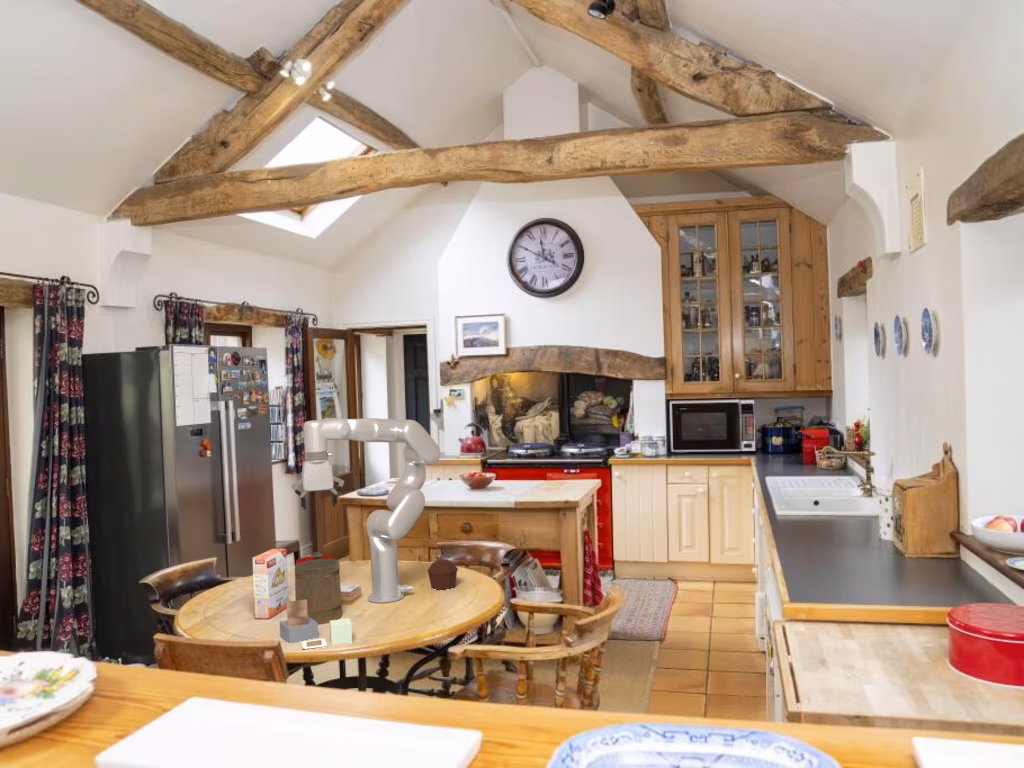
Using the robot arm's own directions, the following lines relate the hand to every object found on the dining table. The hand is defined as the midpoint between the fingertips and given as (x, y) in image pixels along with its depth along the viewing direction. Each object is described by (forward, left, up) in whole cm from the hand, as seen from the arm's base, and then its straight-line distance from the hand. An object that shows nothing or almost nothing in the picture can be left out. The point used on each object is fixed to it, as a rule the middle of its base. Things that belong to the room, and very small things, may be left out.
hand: (319, 507), depth 266 cm
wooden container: (+2, +3, -37) cm, 37 cm away
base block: (+9, +21, -37) cm, 43 cm away
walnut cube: (+9, +21, -32) cm, 39 cm away
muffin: (-44, -15, -37) cm, 59 cm away
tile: (+5, +31, -36) cm, 48 cm away
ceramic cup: (0, -43, -36) cm, 56 cm away
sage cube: (-3, +31, -36) cm, 48 cm away
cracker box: (+17, -10, -36) cm, 41 cm away
